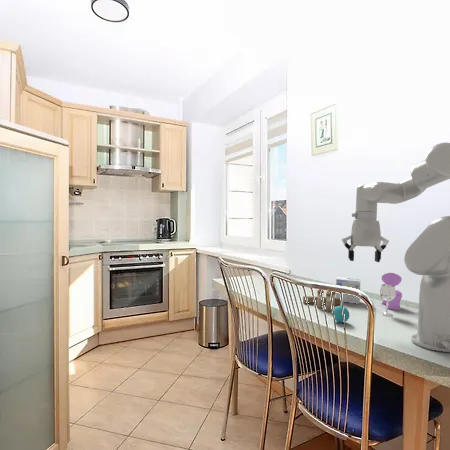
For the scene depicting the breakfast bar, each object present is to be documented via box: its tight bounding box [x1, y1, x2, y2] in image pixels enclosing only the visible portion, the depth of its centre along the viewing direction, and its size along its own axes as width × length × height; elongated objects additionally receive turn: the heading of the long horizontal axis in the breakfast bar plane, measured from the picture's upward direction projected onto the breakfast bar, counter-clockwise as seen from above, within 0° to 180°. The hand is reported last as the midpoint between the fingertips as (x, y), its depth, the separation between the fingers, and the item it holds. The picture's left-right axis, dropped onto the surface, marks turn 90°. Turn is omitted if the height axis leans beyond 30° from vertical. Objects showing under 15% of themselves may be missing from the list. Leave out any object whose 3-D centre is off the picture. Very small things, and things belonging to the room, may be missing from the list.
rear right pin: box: [332, 291, 336, 308], centre depth 142 cm, size 2×2×8 cm
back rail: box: [302, 295, 341, 306], centre depth 149 cm, size 2×16×3 cm, turn 89°
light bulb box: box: [335, 276, 361, 305], centre depth 156 cm, size 11×7×11 cm, turn 69°
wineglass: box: [379, 283, 396, 317], centre depth 136 cm, size 6×6×12 cm
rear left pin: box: [316, 289, 325, 310], centre depth 143 cm, size 2×2×8 cm
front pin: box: [325, 291, 333, 313], centre depth 138 cm, size 2×2×8 cm
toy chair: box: [381, 272, 403, 311], centre depth 149 cm, size 8×9×15 cm
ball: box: [331, 305, 350, 323], centre depth 123 cm, size 6×6×6 cm
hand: (364, 261), depth 129 cm, fingers open, 9 cm apart
